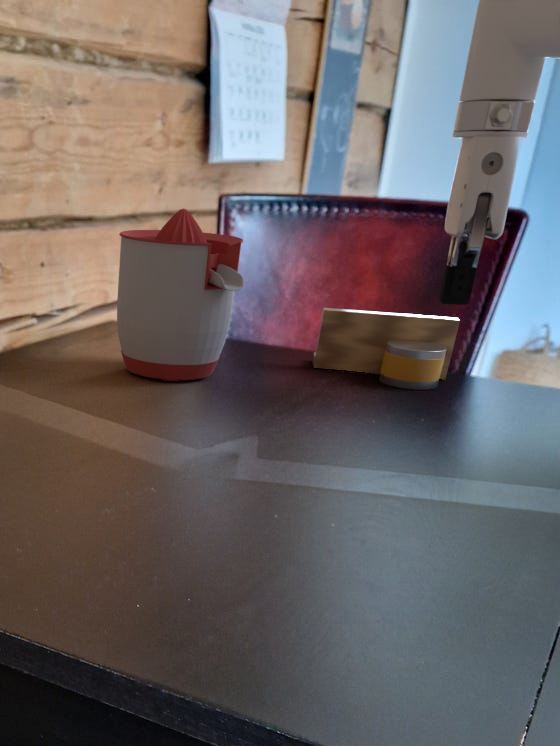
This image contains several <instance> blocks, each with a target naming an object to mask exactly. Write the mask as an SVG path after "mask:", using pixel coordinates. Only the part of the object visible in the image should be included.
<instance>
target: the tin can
mask: <svg viewBox="0 0 560 746" xmlns="http://www.w3.org/2000/svg"><path fill="white" fill-rule="evenodd" d="M445 353H446V347H444V346H442V345H439V344H435V343H431V342H425V341H417V340H391V341H388V342H387V345H386V350H385V353H384V358H383V362H382V367H381V372H380V375H379V378H378V380H379V382H380V383H382V384H383V385H386V386H390V387H393V386H394V387H393V388H397V387H398V388H397V389H404V390H412V389H413V390H414V391H429V390H435V389H436V388H437V387H438V384H439V381H440V380H439V379H440V375H441V371H442V367H443V363H444V359H445Z"/></svg>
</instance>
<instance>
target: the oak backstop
mask: <svg viewBox="0 0 560 746" xmlns="http://www.w3.org/2000/svg"><path fill="white" fill-rule="evenodd" d="M460 322H461V320H460V319H459V317H452V316H441V315H440V316H438V315H428V314H427V315H426V314H425V315H424V314H413V313H398V312H385V311H373V310H362V309H361V310H360V309H359V310H358V309H346V308H334V307H323V308H322V314H321V319H320V323H319V331H318V336H317V342H316V347H315V351H314V352H313V353H312V359H313V361H312V367H313V366H314V367H313V369H314V368H325V369H337V370H347V371H357V372H365V373H364V374H367V373H371V374H370V375H379V374H380V372H381V367H382V362H383V358H384V353H385V350H386V345H387V342H388V341H391V340H417V341H425V342H431V343H435V344H439V345H442V346H444V347H446V353H445V359H444V363H443V367H442V371H441V375H440V379H442V380H441V381H445V380H446V378H447V374H448V370H449V366H450V362H451V358H452V353H453V350H454V346H455V341H456V337H457V334H458V329H459V325H460ZM373 373H374V374H373Z"/></svg>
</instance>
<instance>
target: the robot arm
mask: <svg viewBox="0 0 560 746" xmlns="http://www.w3.org/2000/svg"><path fill="white" fill-rule="evenodd" d="M467 54H468V55H467V61H466V65H465V71H464V75H463V80H462V85H461V91H460V96H459V101H458V105H457V110H456V116H455V121H454V126H453V132H452V137H451V138H452V139H461V143H460V146H459V147H460V148H459V152H458V156H457V158H456V164H455V169H454V174H453V178H452V184H451V188H450V193H449V198H448V203H447V208H446V214H445V220H444V231H445V233H446V234H447V235H449V236H451V238H450V244H449V250H448V255H447V260H446V265H445V267H444V271H443V276H442V280H441V281H442V282H441V285H440V286H441V287H440V291H439V297H438V301H439V302H440V303H441V304H442V305H461V306H467V305H468V304H469V303H470V301H471V297H472V294H473V293H472V292H473V288H474V283H475V279H476V275H477V270H478V264H479V260H480V256H481V253H482V248H483V244H484V241H485V238H487V239H491V240H498V239H499V238H501V236H503V233H504V230H505V225H506V220H507V216H508V215H507V214H508V209H509V204H510V199H511V194H512V189H513V184H514V183H513V182H514V177H515V172H516V166H517V160H518V152H519V143H520V139H521V140H522V139H527V137H528V132H529V129H530V125H531V120H532V116H533V112H534V108H535V102H536V99H537V95H538V90H539V86H540V82H541V78H542V73H543V68H544V64H545V60H546V58H547V59H558V60H560V0H478V4H477V9H476V14H475V19H474V24H473V29H472V34H471V40H470V45H469V49H468V53H467Z"/></svg>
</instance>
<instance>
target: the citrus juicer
mask: <svg viewBox="0 0 560 746" xmlns="http://www.w3.org/2000/svg"><path fill="white" fill-rule="evenodd" d="M118 235H119V236H120V251H119V269H118V281H117V283H118V285H117V300H116V322H117V323H116V324H117V334H118V340H119V346H120V349H121V350H120V353H121V357H122V359H123V363H124V366H125V368H126V370H128V371H129V372H130V373H132V374H135V375H139V376H142V377H146V378H152V379H160V380H162V381H163V380H164V381H163V382H166V381H177V382H179V381H191V380H199V379H204V378H207V377H209V376H211V375H212V373H213V372H214V370H215V368H216V366H217V364H218V362H219V360H220V356H221V354H222V351H223V348H224V346H225V344H226V341H227V340H226V339H227V337H228V333H229V330H230V326H231V321H232V315H233V309H234V299H235V292H236V291H237V292H238V291H241V290H242V289H243V288H244V278H243V275H242V274H240V273H239V272H238V271H239V263H240V257H241V256H240V255H241V249H242V244H243V243H244V240H243V238H241V237H237V236H233V235H228V234H220V233H212V232H203V230H202V228H201V227H200V225H199V223H198V222H197V221H196V219H195V218H194V216H193V214H191V213H190V211H189V210H188V209H186V208H181V209H179V210H178V211H176V212H175V214H173V215H172V216H171V217H170V218H169V219H168V220H167V221H166V222H165V224H164V225H163V226H162V228H161V229H132V230H131V229H130V230H123V231H120V232H119V234H118Z"/></svg>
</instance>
